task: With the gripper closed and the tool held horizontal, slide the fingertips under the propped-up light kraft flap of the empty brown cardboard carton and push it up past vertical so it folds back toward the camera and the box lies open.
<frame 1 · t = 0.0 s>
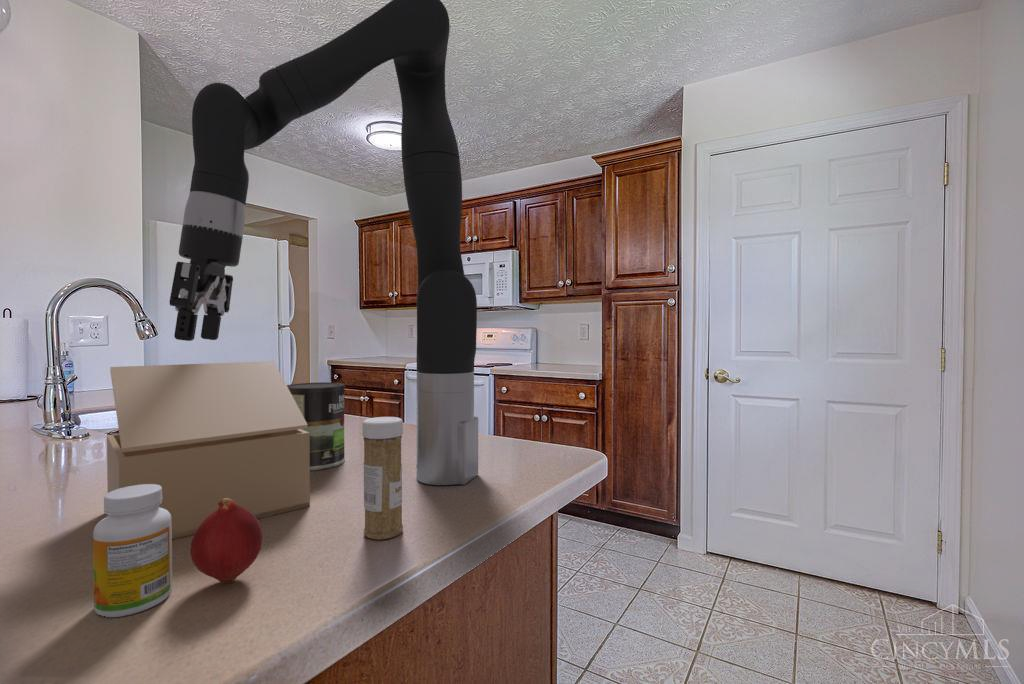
hand: (197, 339, 70), 22 cm above the countertop, tool pointing down, fingers open, 8 cm apart
coffee can: (314, 464, 87), on the countertop
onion: (228, 583, 46), on the countertop
carton flap: (211, 398, 63), point 15 cm above the countertop, hinge at 30.0°
sprinkles bottle: (383, 534, 57), on the countertop
carton: (210, 508, 64), on the countertop
supplement bottle: (134, 603, 42), on the countertop
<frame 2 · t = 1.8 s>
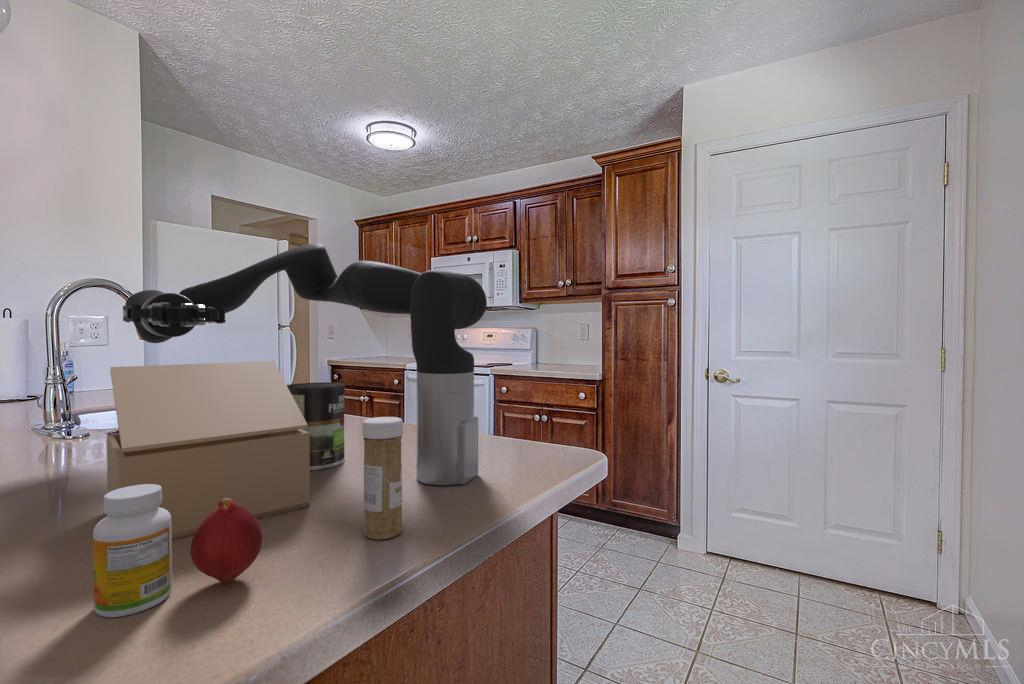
hand: (187, 313, 73), 26 cm above the countertop, tool horizontal, fingers open, 6 cm apart
nothing on the countertop moved.
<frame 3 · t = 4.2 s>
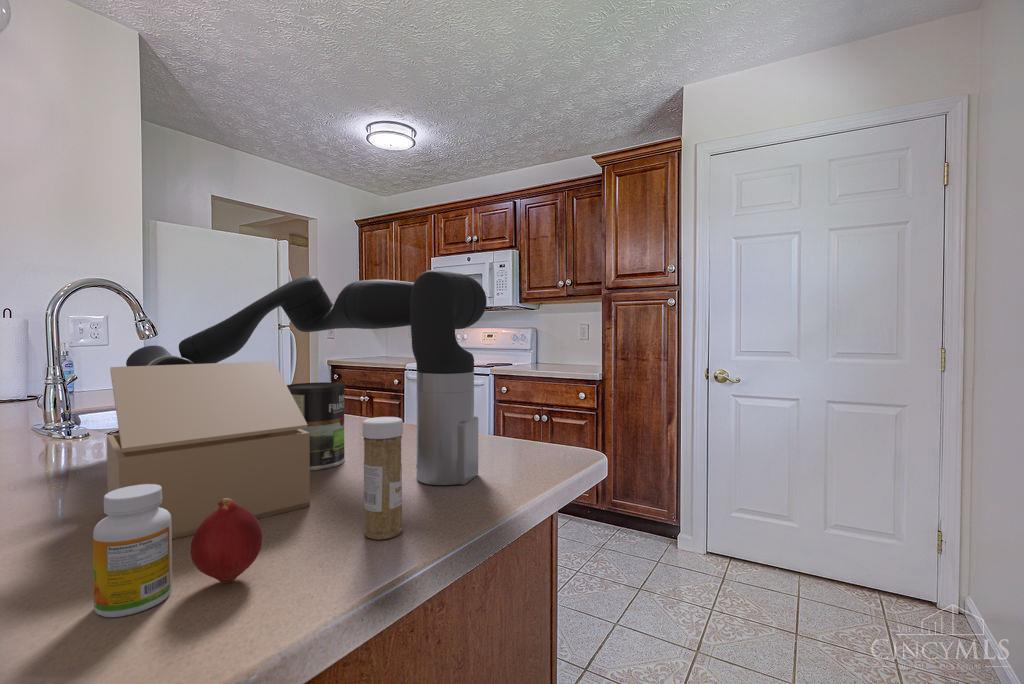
hand: (191, 385, 72), 15 cm above the countertop, tool horizontal, fingers closed
nothing on the countertop moved.
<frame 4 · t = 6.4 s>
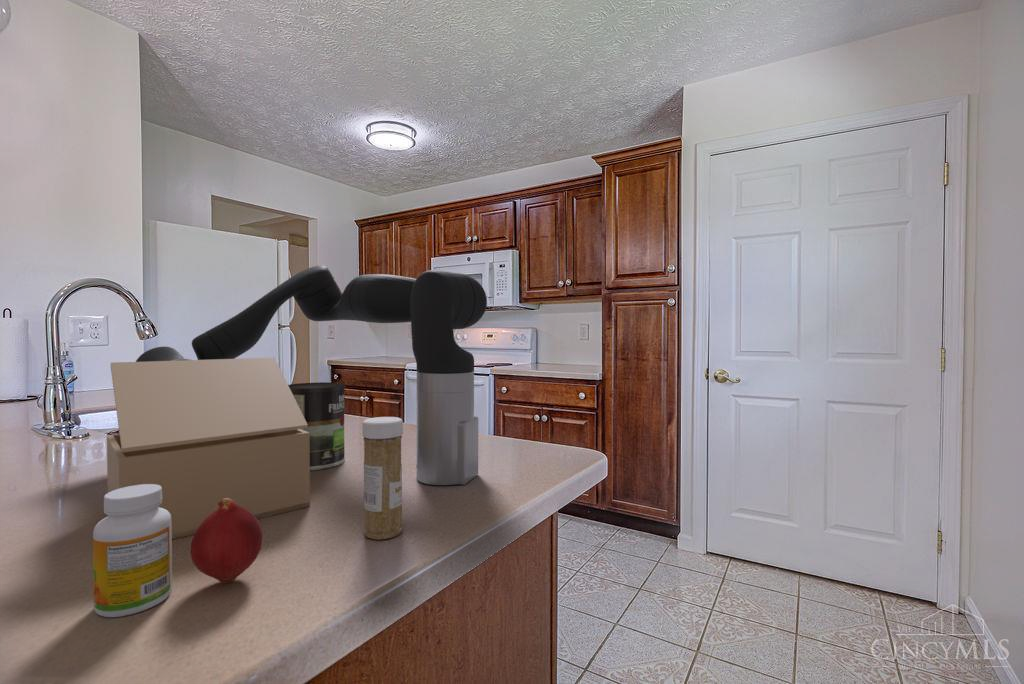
hand: (207, 393, 64), 15 cm above the countertop, tool horizontal, fingers closed
carton flap: (211, 396, 63), point 15 cm above the countertop, hinge at 32.5°, touching gripper
everything else where it was.
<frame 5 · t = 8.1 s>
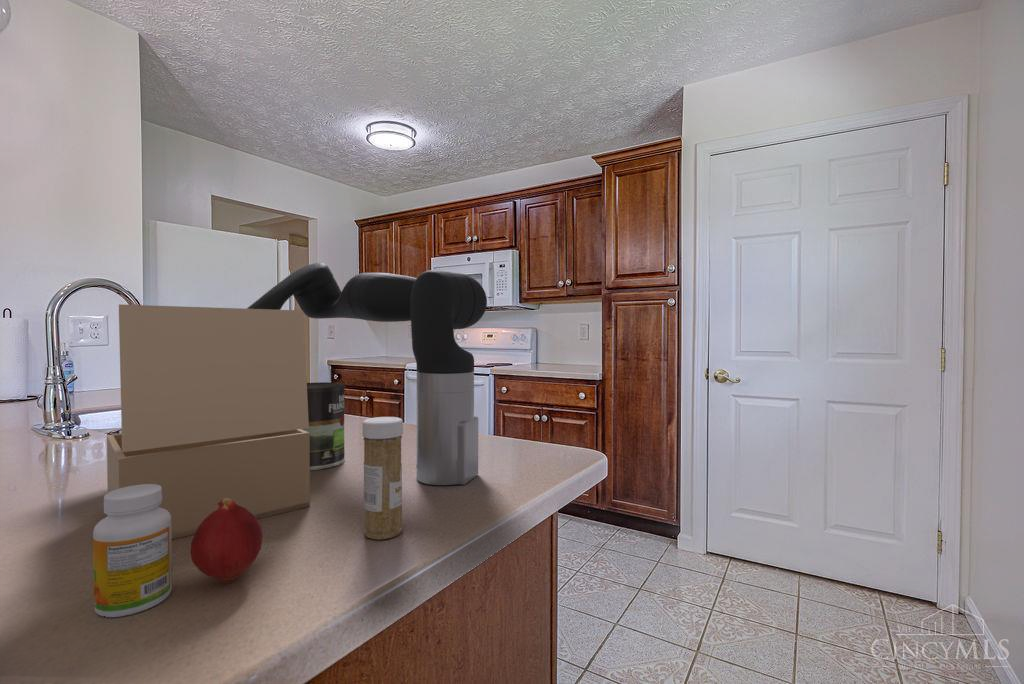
hand: (221, 385, 58), 17 cm above the countertop, tool horizontal, fingers closed
carton flap: (223, 372, 58), point 19 cm above the countertop, hinge at 83.3°, touching gripper
everything else where it was.
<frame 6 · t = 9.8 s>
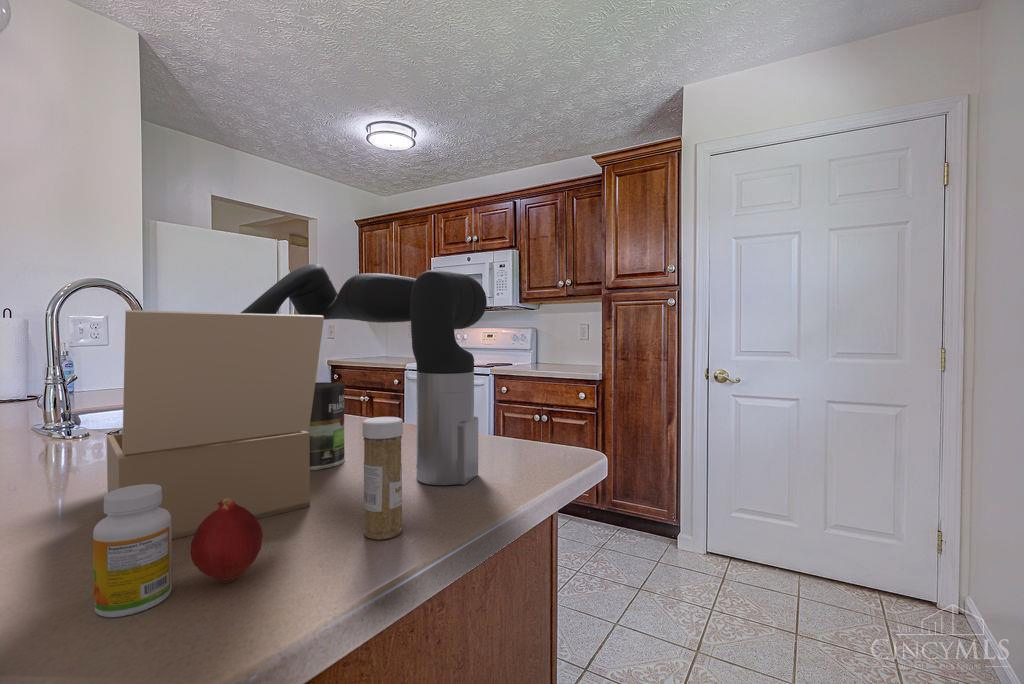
hand: (227, 396, 57), 16 cm above the countertop, tool horizontal, fingers closed
carton flap: (231, 379, 56), point 18 cm above the countertop, hinge at 108.7°
everything else where it was.
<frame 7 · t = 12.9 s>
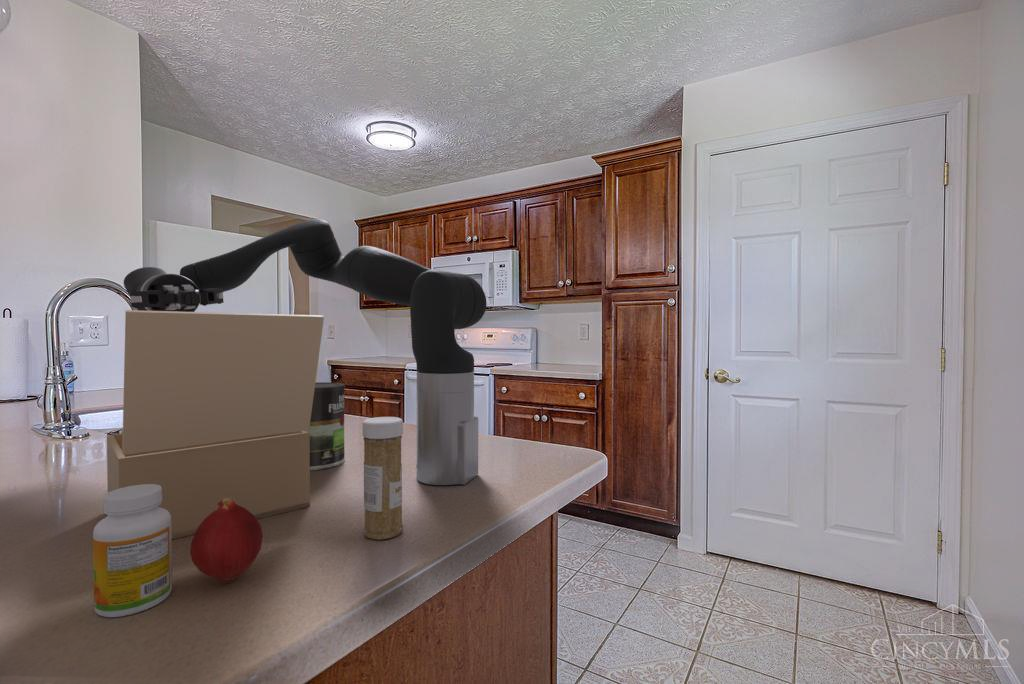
hand: (191, 298, 71), 28 cm above the countertop, tool horizontal, fingers closed
nothing on the countertop moved.
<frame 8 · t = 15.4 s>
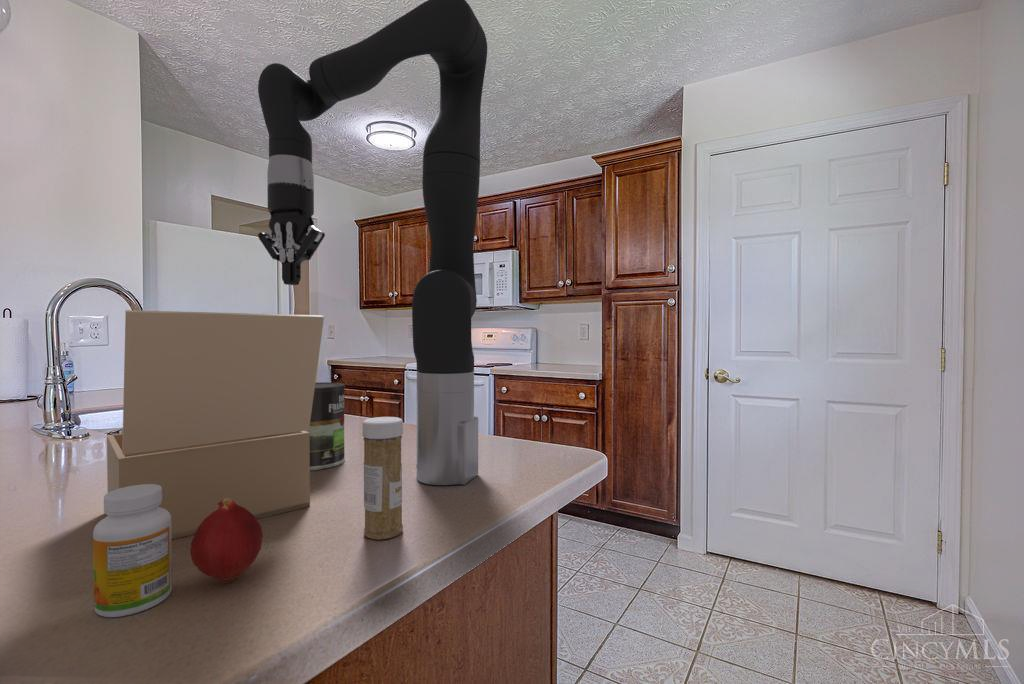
hand: (291, 284, 86), 32 cm above the countertop, tool pointing down, fingers closed
nothing on the countertop moved.
at the end: carton flap at +109° (first picture: +30°) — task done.
